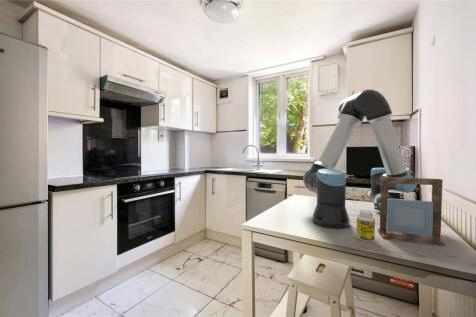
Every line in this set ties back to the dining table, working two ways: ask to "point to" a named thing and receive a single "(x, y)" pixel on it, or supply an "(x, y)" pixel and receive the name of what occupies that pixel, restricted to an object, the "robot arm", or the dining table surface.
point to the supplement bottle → (365, 226)
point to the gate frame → (436, 211)
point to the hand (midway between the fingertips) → (405, 218)
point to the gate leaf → (410, 216)
